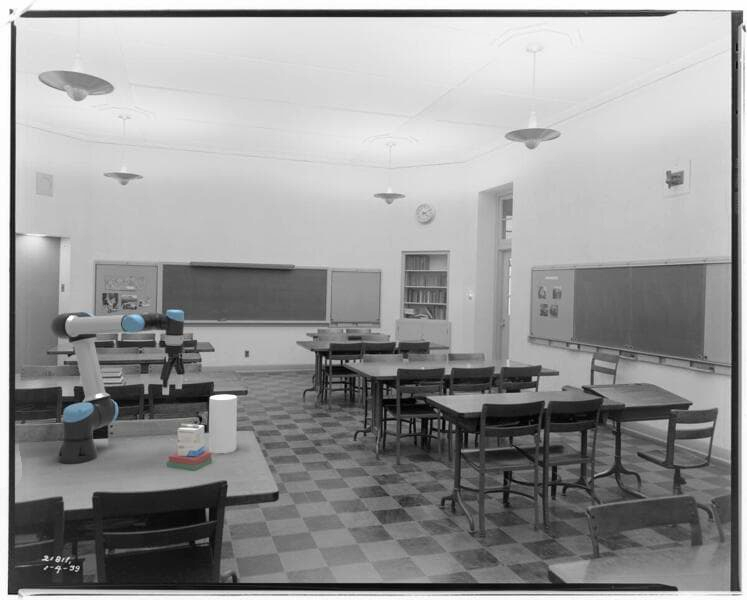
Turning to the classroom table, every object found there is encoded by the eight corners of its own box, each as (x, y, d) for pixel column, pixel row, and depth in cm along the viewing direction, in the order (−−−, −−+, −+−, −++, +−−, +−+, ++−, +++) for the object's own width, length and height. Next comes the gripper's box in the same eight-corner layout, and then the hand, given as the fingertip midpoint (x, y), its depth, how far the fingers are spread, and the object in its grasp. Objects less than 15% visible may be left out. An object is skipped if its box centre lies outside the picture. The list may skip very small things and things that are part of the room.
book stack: (166, 467, 235) (167, 456, 235) (185, 459, 246) (185, 448, 246) (194, 472, 231) (194, 460, 230) (211, 463, 242) (212, 452, 242)
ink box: (204, 451, 242) (205, 421, 242) (195, 457, 234) (196, 425, 234) (186, 450, 244) (186, 420, 243) (176, 455, 235) (177, 424, 235)
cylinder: (231, 444, 269) (232, 393, 269) (239, 451, 259) (240, 398, 258) (205, 448, 262) (206, 395, 262) (213, 455, 252) (214, 400, 251)
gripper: (170, 348, 235) (168, 397, 235) (193, 342, 260) (191, 386, 260) (153, 347, 235) (151, 396, 236) (177, 341, 260) (175, 385, 261)
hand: (172, 391), depth 248 cm, fingers open, 13 cm apart
